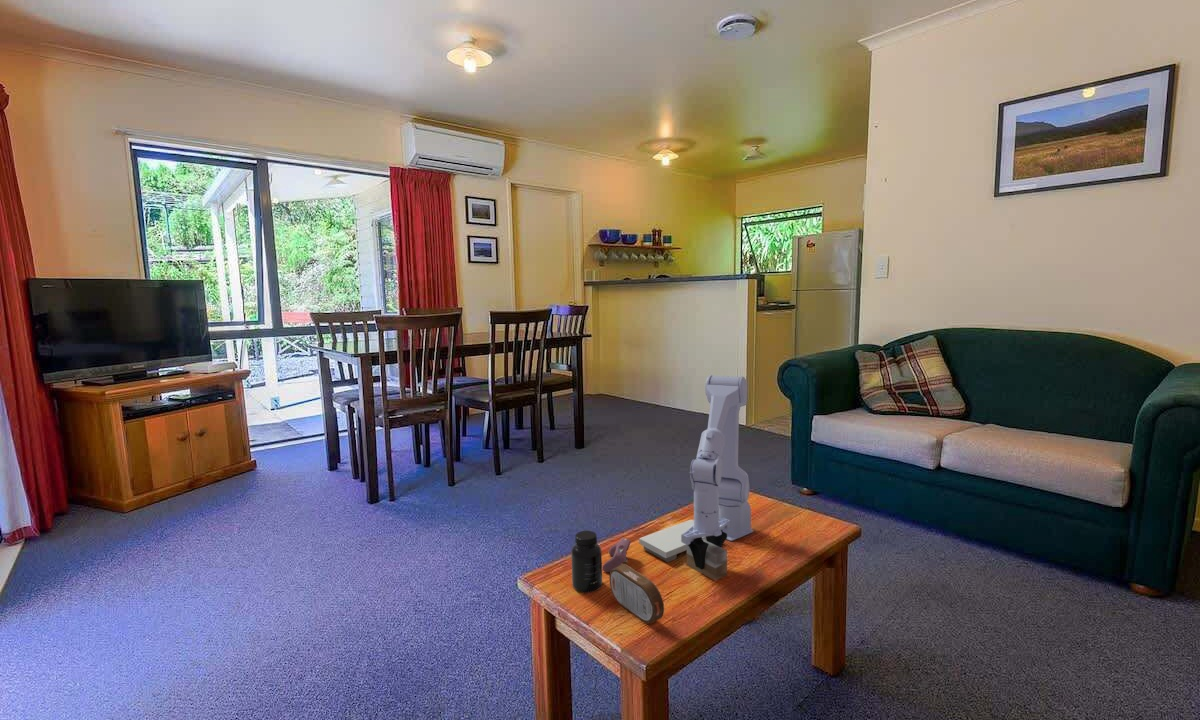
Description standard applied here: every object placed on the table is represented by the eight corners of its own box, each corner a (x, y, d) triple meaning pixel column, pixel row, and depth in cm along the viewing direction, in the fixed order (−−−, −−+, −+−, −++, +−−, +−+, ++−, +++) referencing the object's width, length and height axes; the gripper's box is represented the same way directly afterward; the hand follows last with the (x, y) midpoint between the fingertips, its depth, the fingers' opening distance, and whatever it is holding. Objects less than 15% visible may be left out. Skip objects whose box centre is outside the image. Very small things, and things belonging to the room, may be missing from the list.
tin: (665, 627, 102) (664, 586, 101) (653, 633, 100) (652, 591, 100) (618, 593, 114) (618, 557, 114) (607, 598, 113) (606, 561, 112)
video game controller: (617, 580, 123) (630, 556, 122) (600, 571, 123) (612, 546, 122) (623, 560, 132) (635, 537, 131) (607, 551, 133) (619, 529, 132)
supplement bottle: (567, 582, 119) (565, 532, 118) (593, 574, 123) (592, 525, 121) (580, 597, 113) (579, 544, 112) (608, 588, 117) (606, 536, 115)
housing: (698, 560, 128) (698, 537, 128) (726, 575, 121) (727, 550, 120) (686, 565, 126) (686, 541, 125) (715, 580, 119) (715, 555, 118)
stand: (691, 529, 146) (691, 519, 146) (718, 542, 138) (718, 531, 138) (639, 549, 135) (639, 538, 135) (666, 564, 127) (665, 552, 126)
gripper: (697, 522, 115) (697, 581, 116) (740, 506, 123) (740, 561, 124) (674, 512, 120) (675, 568, 122) (717, 498, 129) (717, 550, 130)
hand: (706, 564), depth 123 cm, fingers closed on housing, 4 cm apart
